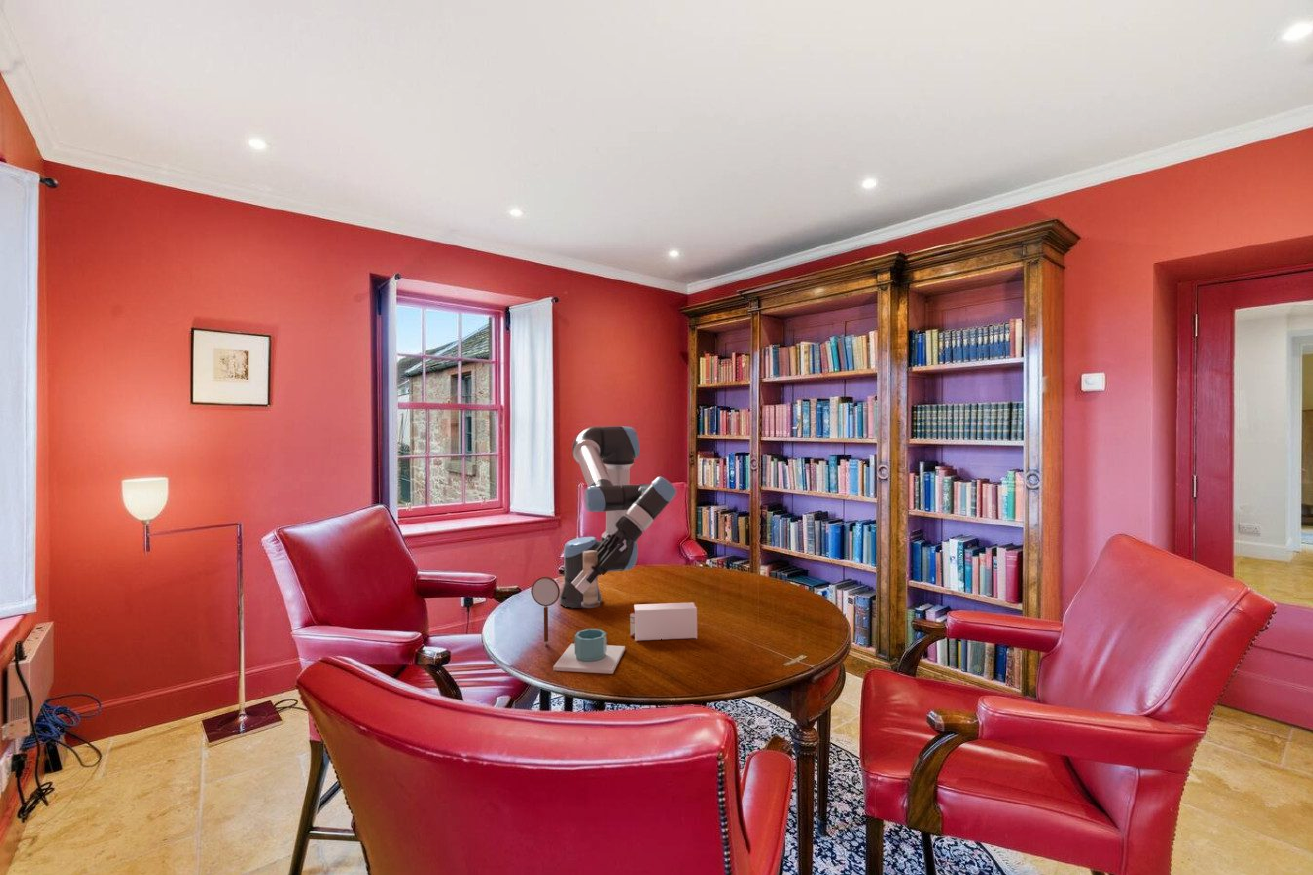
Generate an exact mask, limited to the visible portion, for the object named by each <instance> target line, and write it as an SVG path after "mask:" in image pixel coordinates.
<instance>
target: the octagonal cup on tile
mask: <svg viewBox="0 0 1313 875" xmlns="http://www.w3.org/2000/svg"><path fill="white" fill-rule="evenodd" d="M573 636H574V637H573V638H574V643H572V642H571V643H570V645H569V646H568V647H567V648H566V650H565V651H564V652H563V653H562V655H561V656H560V657H559V659H558V660H557V661H556V662H555V664H554V665H553V667H552V670H553V671H561V672H573V673H574V672H575V673H576V672H577V673H594V674H595V673H596V674H611V675H613V674H614V672H615V671H616V669H617V666H618V664H619V662H620V660H621V658H622V657H623V655H624V653H625V651H626V645H610V644H609V645H608V644H607V632H606V631H604V630H602V629H601V628H586V629H582V630H578V631H577V632H576V633H575V635H573Z"/></svg>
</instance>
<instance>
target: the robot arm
mask: <svg viewBox="0 0 1313 875" xmlns="http://www.w3.org/2000/svg"><path fill="white" fill-rule="evenodd" d="M640 450H641V449H640V442H639V436H638V434H637V431H636V429H634V427H632V426H623V425H621V426H620V425H616V426H615V425H614V426H612V425H611V426H590V427H587V428H585V429H583V430H582V431H581V432H580V433H578V435H577V436H576V437H574V440H573V442H572V445H571V453H572V456H573V459H574V461H576V463H577V464H579V467H580V471H581V473H582V475H583V479H584V482H585V484H586V485H587V487H586V488H585V490H584V505H585V506H584V507H585V509H586V510H587V512H593V513H594V512H598V513H602V512H605V531H604V532H603V533H602V534H601V539H600V540H598V539H597V538H596V537H595V536H582V537H577V538H574V539H571V540H569V541H567V542H566V543H565V544H564V551H563V552H564V553H563V557H564V561H563V562H564V584H563V586H562V590H561V592H560V595H559V604H562V605H563V606H566V607H571V608H570V609H573V608H582V609H585V608H584V607H582V606H581V602H583V593H584V592H585V591H586V590H587V589H588V588H589V586H590V585H591V584H592V583H593V582H594V581H595V579H596V578H597V577H599V576H601V575H602V576H605V575H606V574H607V573H609V572H610V573H611V572H612V573H613V572H623V571H629V570H632V569H633V568H634V567H635V566H636V563H637V561H638V560H637V559H638V555H639V554H638V552H639V549H638V546H639V545H638V539H639V538H640V537H641V536H642V535H643V532H645V531H646V530H647V529H648V528H649V527H651V526H652V523H653V522H654V520H656V519H657V517H658V516H659V515H660V514H661V513H662V511H663V510H665V509H666V507H667V506H668V504H669V503H671V502H672V500H673V499H674V498H675V496H676V495H677V489H676V487H675V486H674V484H672V483H671V481H669V480H668V479H666V478H664V477H663V476H657V477H656V478H654V480H652V481H651V483H650V484H648V483H638V484H631V483H630V482H631V480H630V478H631V475H630V474H631V472H630V471H631V467H632V466H633V465H635V459H637V458H639V456H640V452H641V451H640ZM589 550H593V551H597V561H598V563H597V564H596V566H595V567H594V566H592V567H591V570H590V571H589V572H588V573H587V574H586V575H585V576H584V577H583V552H584V551H589ZM598 601H600V604H601V603H602V601H603V600H602V593H601V590H600V588H599V586H598ZM563 606H562V607H563ZM566 607H565V608H566Z"/></svg>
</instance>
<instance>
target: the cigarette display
mask: <svg viewBox="0 0 1313 875" xmlns="http://www.w3.org/2000/svg"><path fill="white" fill-rule="evenodd" d="M633 608H634V612H631V613H629V617H630V618H629V620H630V621H629V625H630V629H629V630H630V637H634V641H635V642H637V641H658V640H661V639H662V640H677V639H678V640H681V639H683V640H684V639H696V640H697V639H698V607H697V606H696V604H695V602H669V603H666V602H664V603H644V604H637V603H636V604H634V605H633ZM662 640H661V641H662Z"/></svg>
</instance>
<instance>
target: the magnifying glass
mask: <svg viewBox="0 0 1313 875" xmlns="http://www.w3.org/2000/svg"><path fill="white" fill-rule="evenodd" d="M531 595H532V596H531V597H532V598H533V600H534V601H535V603H537V605H540V606H543V642H544V644H545V645H548V642H549V608H548V607H549V606H552V605H554V604H555V603H556V602H558V600H559V599H560V596H561V590H560V586H559V583H557V581H556V580H555V579H554V578H552V577H549V576H541V577H538V578H537V579H536V580H534V582H533V583H532V586H531Z"/></svg>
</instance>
